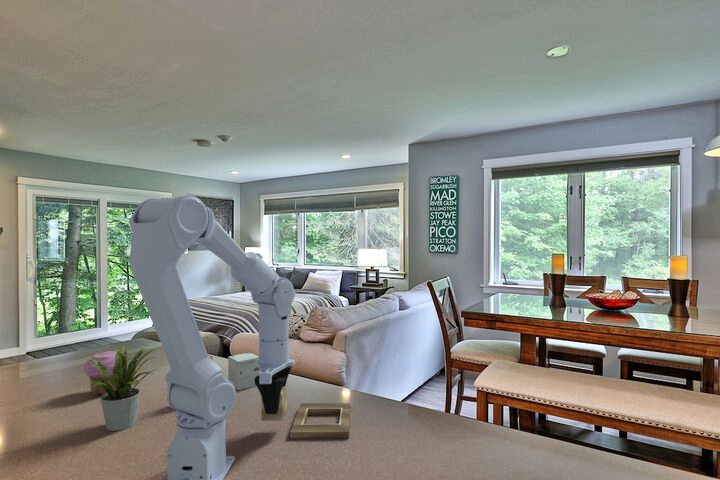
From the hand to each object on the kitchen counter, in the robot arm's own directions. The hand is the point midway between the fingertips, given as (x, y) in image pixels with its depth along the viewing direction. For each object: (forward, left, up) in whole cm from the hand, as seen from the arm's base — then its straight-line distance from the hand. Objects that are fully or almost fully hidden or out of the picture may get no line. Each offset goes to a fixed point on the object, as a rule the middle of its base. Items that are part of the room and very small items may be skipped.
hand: (274, 408), depth 77 cm
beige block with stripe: (0, 0, -2) cm, 2 cm away
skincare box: (+25, +13, -5) cm, 29 cm away
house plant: (+3, +30, -5) cm, 31 cm away
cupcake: (+21, +46, -5) cm, 51 cm away
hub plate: (+4, -9, -4) cm, 11 cm away
